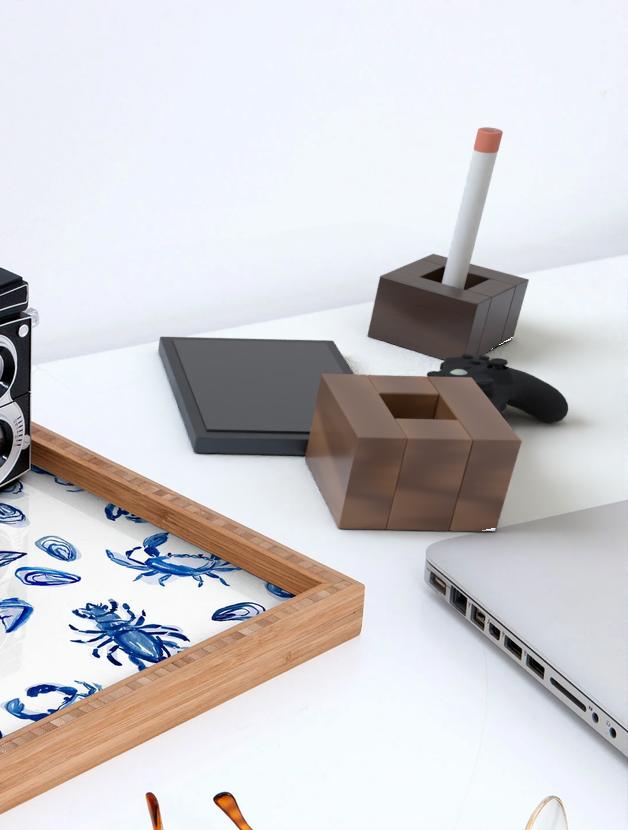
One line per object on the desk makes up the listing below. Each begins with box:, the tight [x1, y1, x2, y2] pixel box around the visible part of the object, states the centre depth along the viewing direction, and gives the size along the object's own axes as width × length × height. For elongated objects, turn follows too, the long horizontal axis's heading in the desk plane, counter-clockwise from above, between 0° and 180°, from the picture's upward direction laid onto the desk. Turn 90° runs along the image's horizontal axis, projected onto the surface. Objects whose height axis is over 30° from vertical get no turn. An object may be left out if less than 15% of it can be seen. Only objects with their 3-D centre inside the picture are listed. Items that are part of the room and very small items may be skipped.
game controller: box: [426, 354, 569, 424], centre depth 84 cm, size 10×5×7 cm
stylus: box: [442, 126, 504, 289], centre depth 92 cm, size 1×1×13 cm
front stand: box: [304, 373, 522, 532], centre depth 76 cm, size 8×8×5 cm
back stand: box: [367, 253, 530, 361], centre depth 95 cm, size 7×7×4 cm
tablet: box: [157, 336, 355, 456], centre depth 86 cm, size 11×15×1 cm
